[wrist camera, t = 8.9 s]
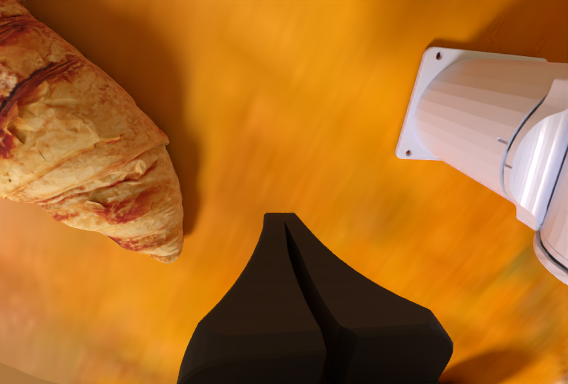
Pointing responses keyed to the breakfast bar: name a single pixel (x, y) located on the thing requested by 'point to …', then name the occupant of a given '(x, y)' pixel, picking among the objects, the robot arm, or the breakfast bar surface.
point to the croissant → (82, 143)
